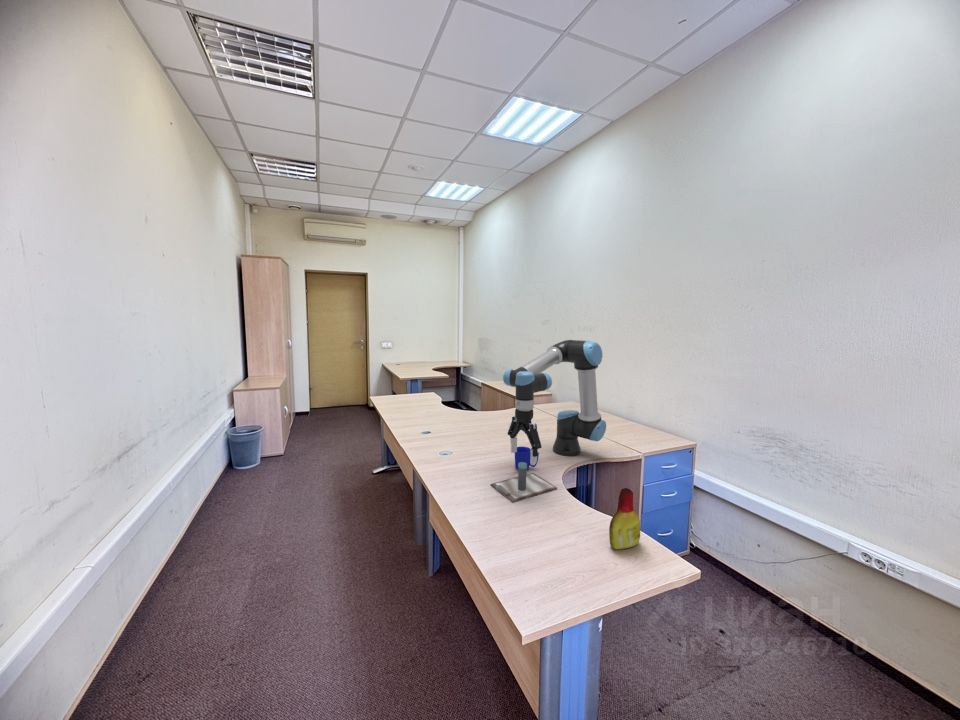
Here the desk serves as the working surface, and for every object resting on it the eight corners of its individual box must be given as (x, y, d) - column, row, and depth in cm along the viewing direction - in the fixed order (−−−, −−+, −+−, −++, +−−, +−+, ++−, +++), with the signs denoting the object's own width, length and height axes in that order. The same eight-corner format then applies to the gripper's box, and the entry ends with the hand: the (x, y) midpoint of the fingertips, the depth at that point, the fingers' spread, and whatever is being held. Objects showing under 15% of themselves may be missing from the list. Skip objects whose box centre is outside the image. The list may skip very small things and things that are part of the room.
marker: (522, 488, 157) (523, 461, 155) (527, 492, 154) (528, 464, 152) (515, 490, 155) (516, 463, 154) (520, 494, 152) (521, 466, 151)
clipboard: (532, 474, 173) (532, 470, 173) (557, 489, 159) (557, 485, 159) (490, 485, 161) (490, 482, 161) (512, 502, 147) (512, 498, 146)
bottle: (615, 555, 115) (619, 496, 113) (602, 543, 121) (605, 487, 119) (644, 547, 120) (648, 489, 117) (629, 536, 125) (633, 481, 123)
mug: (537, 473, 174) (538, 453, 173) (512, 471, 177) (513, 451, 175) (538, 466, 182) (539, 447, 181) (514, 464, 185) (515, 445, 183)
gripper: (500, 403, 159) (499, 449, 162) (536, 417, 138) (535, 470, 140) (513, 401, 163) (513, 446, 165) (551, 414, 141) (549, 466, 144)
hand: (523, 457), depth 153 cm, fingers open, 13 cm apart
